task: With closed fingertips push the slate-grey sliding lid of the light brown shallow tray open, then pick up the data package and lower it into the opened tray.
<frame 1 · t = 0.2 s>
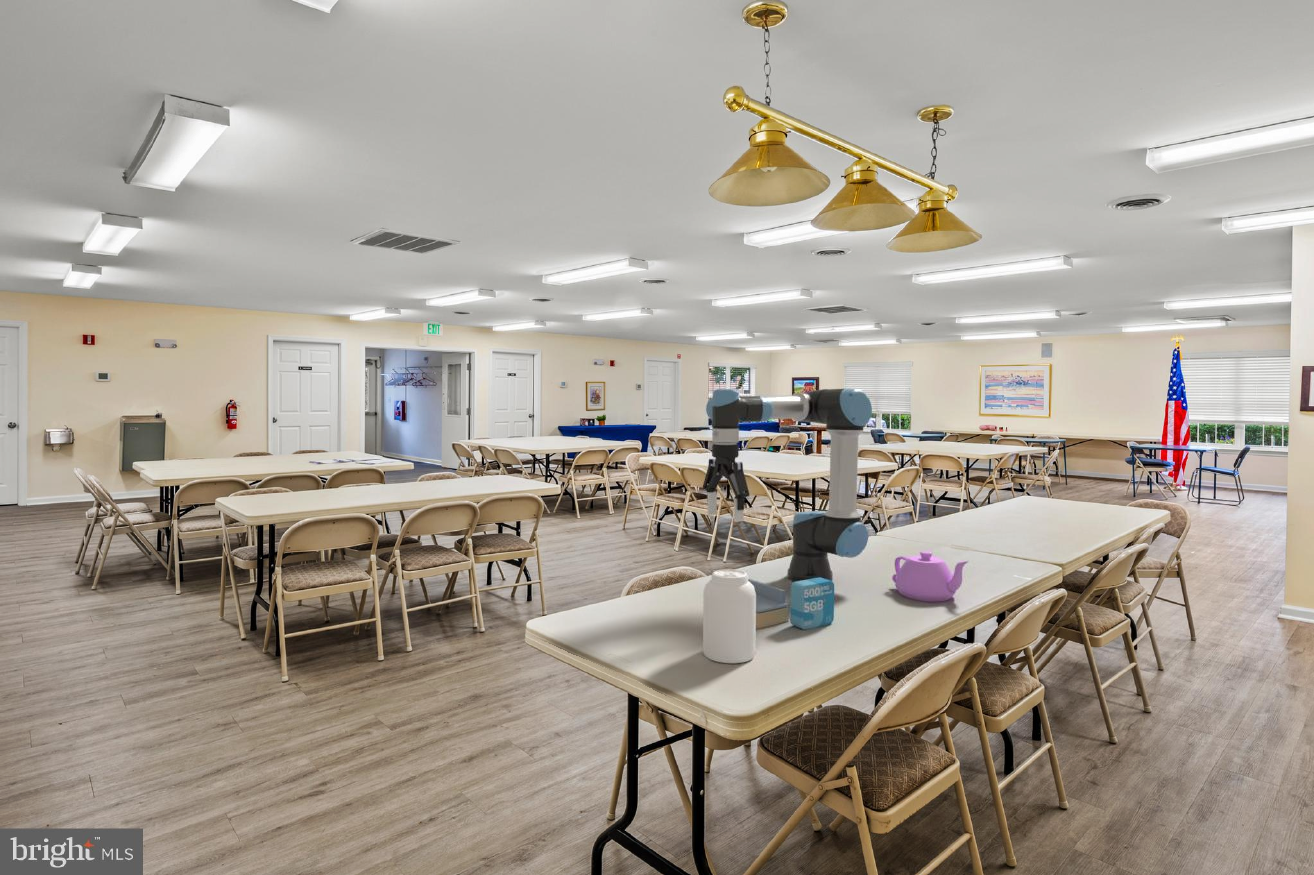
hand: (724, 517, 194), 27 cm above the table, fingers open, 13 cm apart
light brown shallow tray: (752, 616, 192), on the table
lid: (752, 594, 191), point 6 cm above the table, slide at 0.0 cm
teapot: (928, 596, 213), on the table
white bottle: (729, 655, 163), on the table
data package: (812, 625, 185), on the table
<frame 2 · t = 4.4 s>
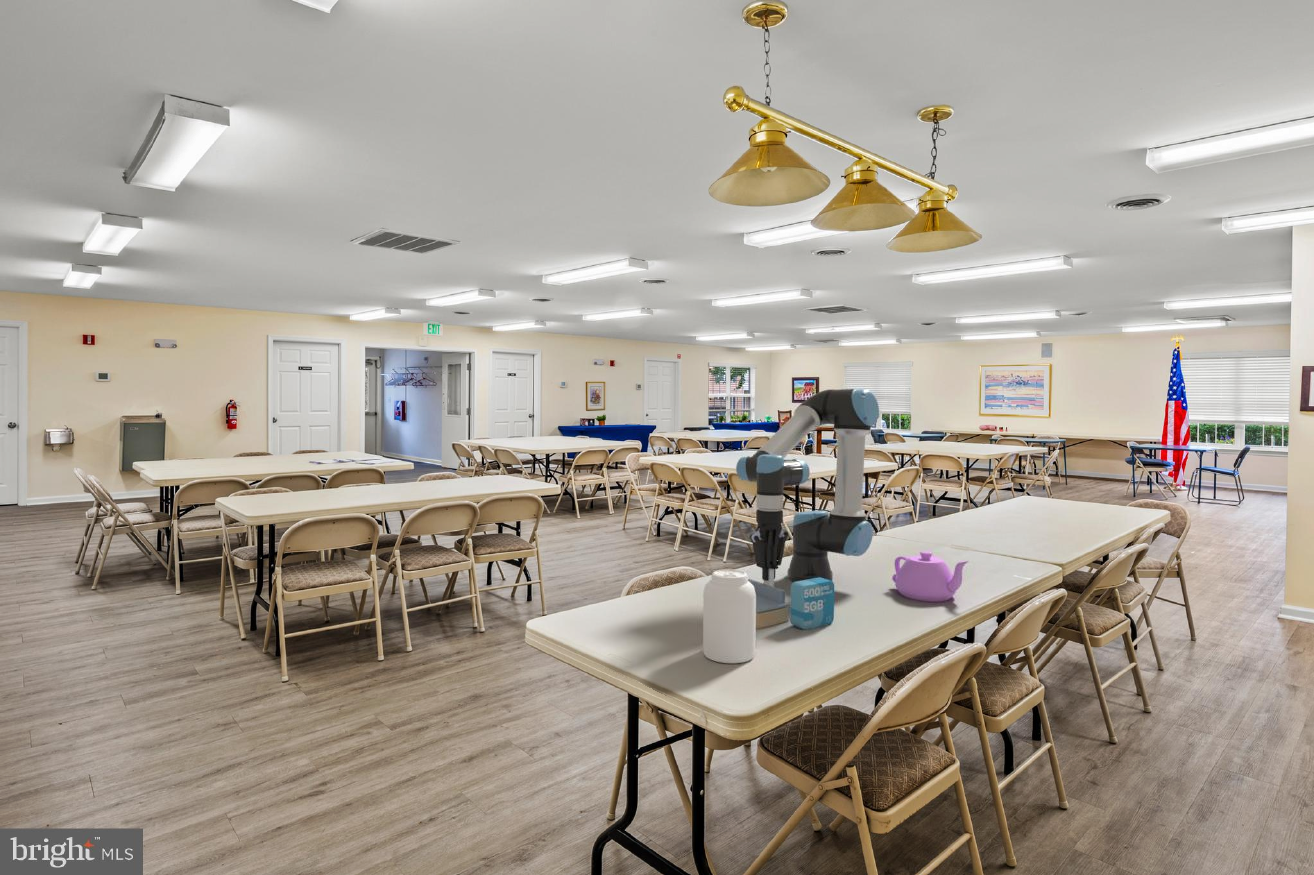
hand: (768, 590, 194), 6 cm above the table, fingers closed
lid: (752, 594, 191), point 6 cm above the table, slide at 0.2 cm, touching gripper
everything else where it was.
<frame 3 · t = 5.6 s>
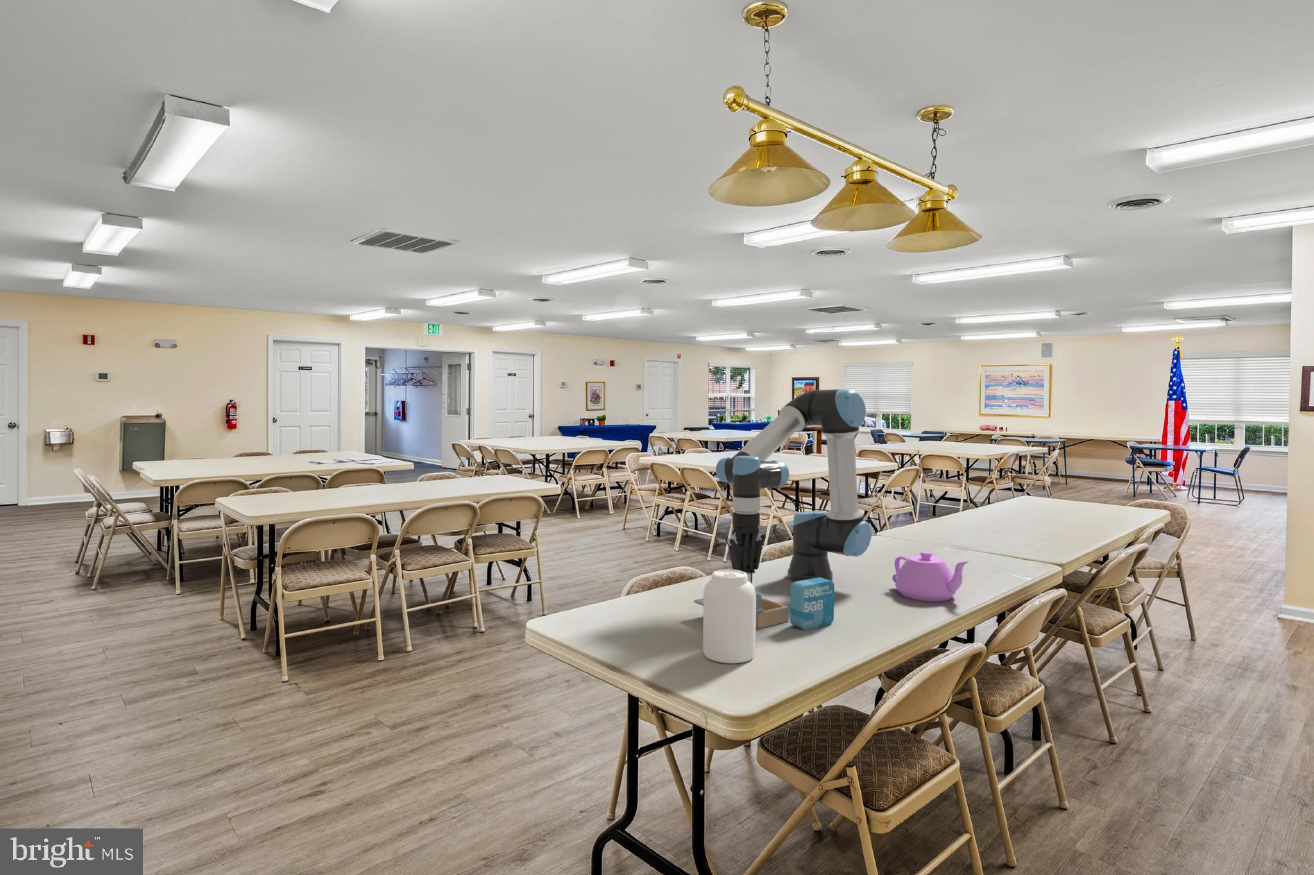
hand: (745, 595, 190), 6 cm above the table, fingers closed
lid: (728, 599, 186), point 6 cm above the table, slide at 8.9 cm, touching gripper
everything else where it was.
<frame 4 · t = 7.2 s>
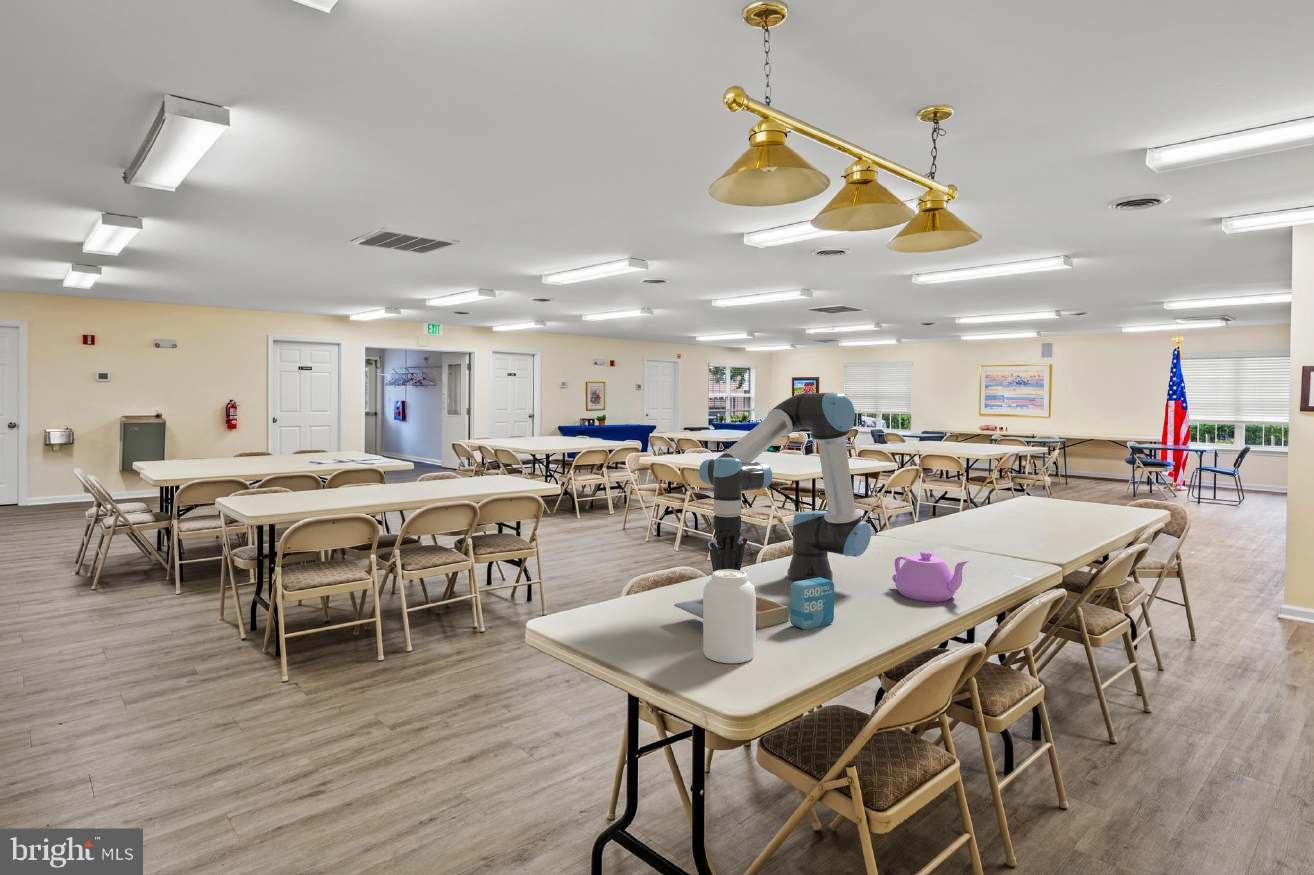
hand: (726, 600, 186), 6 cm above the table, fingers closed
lid: (709, 603, 183), point 6 cm above the table, slide at 15.5 cm, touching gripper
everything else where it was.
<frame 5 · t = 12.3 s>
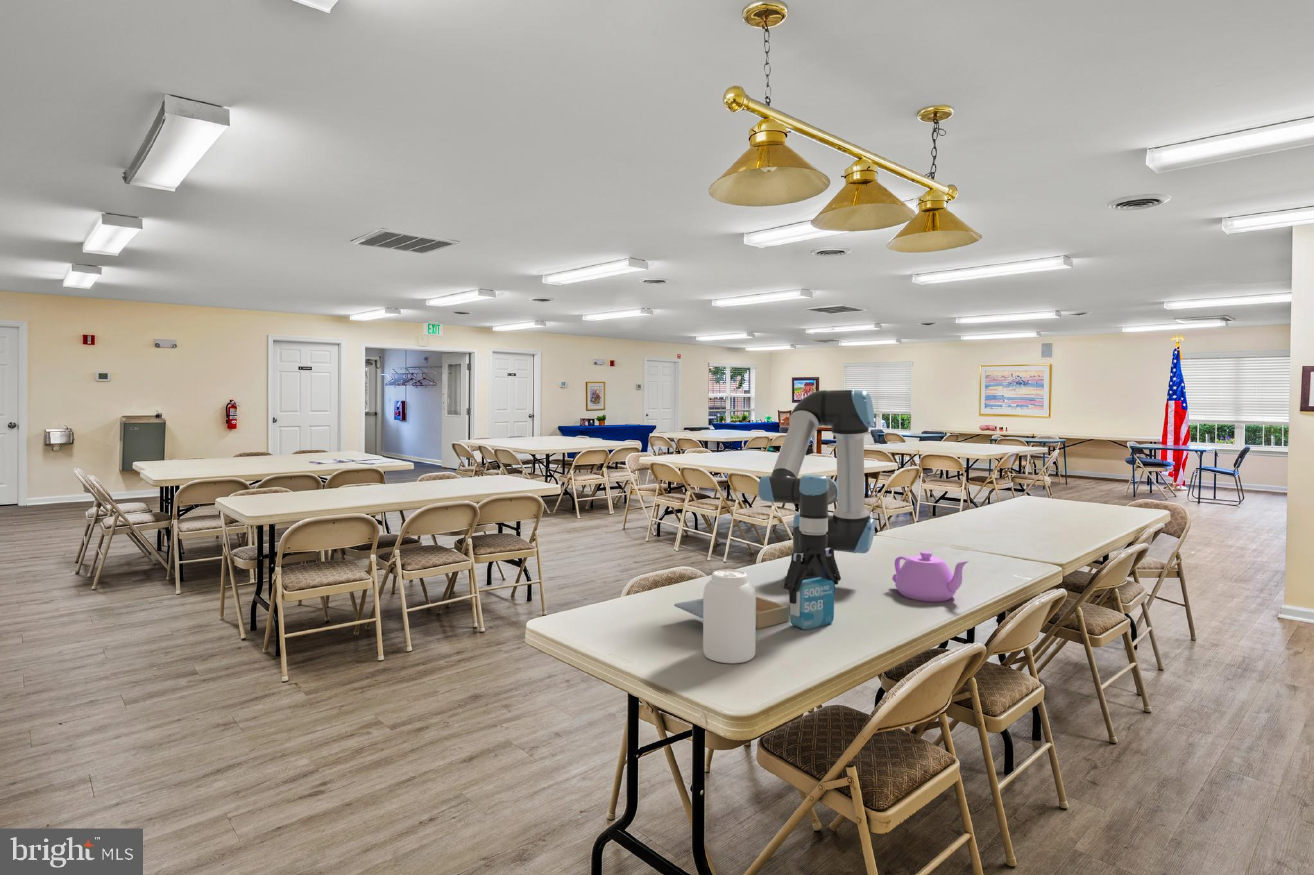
hand: (812, 611, 185), 4 cm above the table, fingers closed on data package, 12 cm apart
lid: (709, 603, 183), point 6 cm above the table, slide at 15.5 cm
data package: (812, 625, 185), on the table, touching gripper
everything else where it was.
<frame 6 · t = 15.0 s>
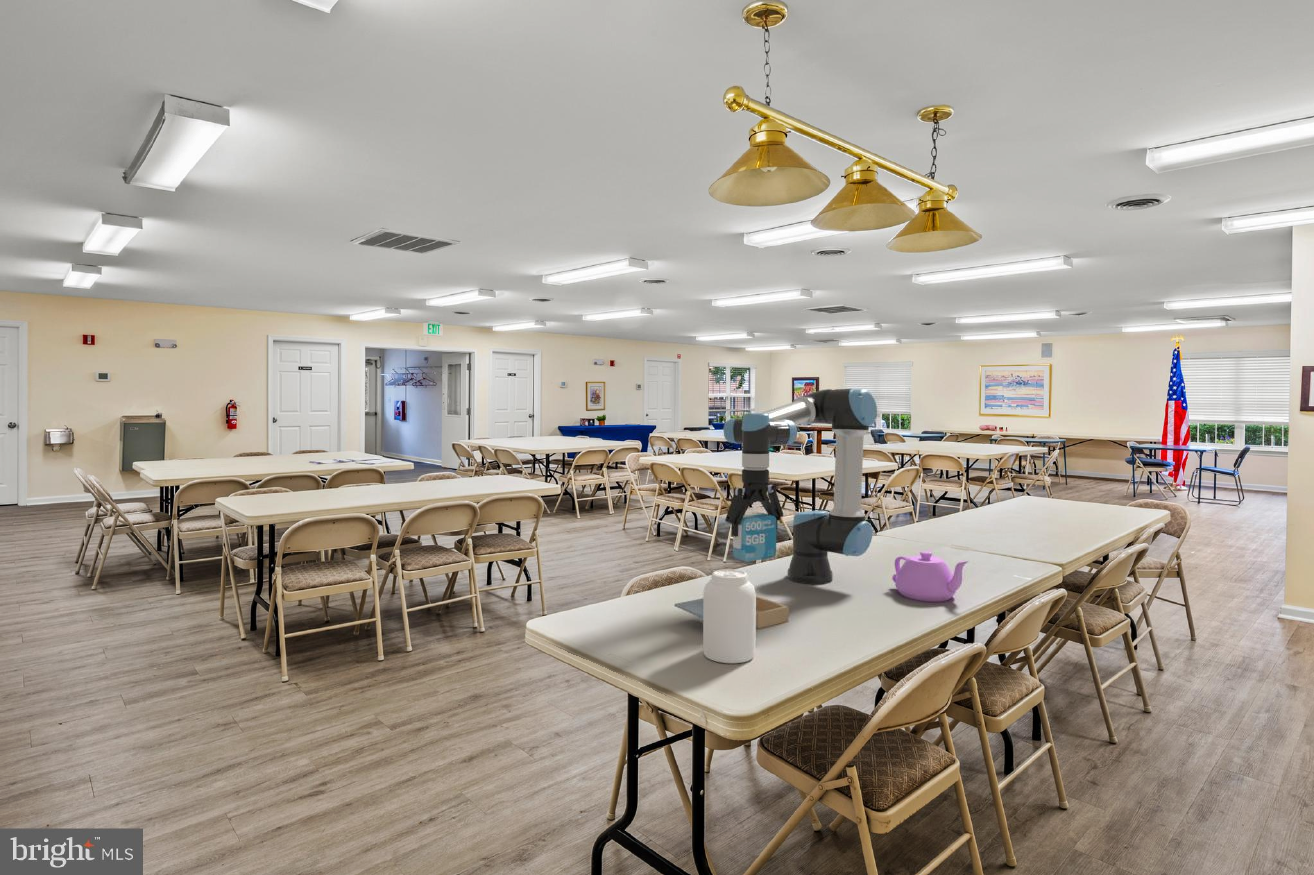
hand: (754, 545, 190), 20 cm above the table, fingers closed on data package, 12 cm apart
data package: (754, 559, 191), point 16 cm above the table, touching gripper
everything else where it was.
when the fingers open (7 cm above the table, at t = 18.2 s): data package stays where it is, resting on light brown shallow tray.
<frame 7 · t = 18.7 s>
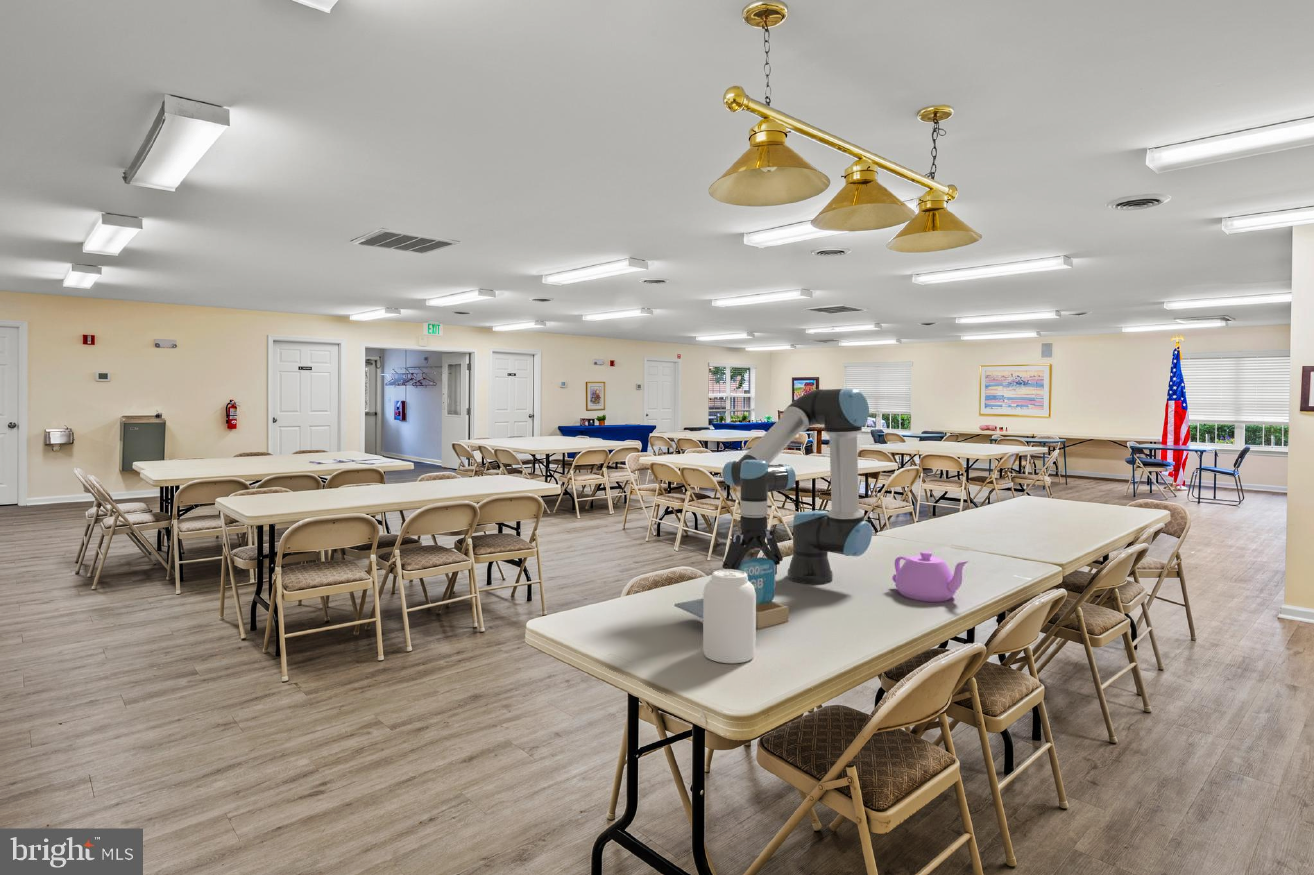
hand: (753, 590, 191), 8 cm above the table, fingers open, 13 cm apart
data package: (752, 603, 191), point 4 cm above the table, touching light brown shallow tray
everything else where it was.
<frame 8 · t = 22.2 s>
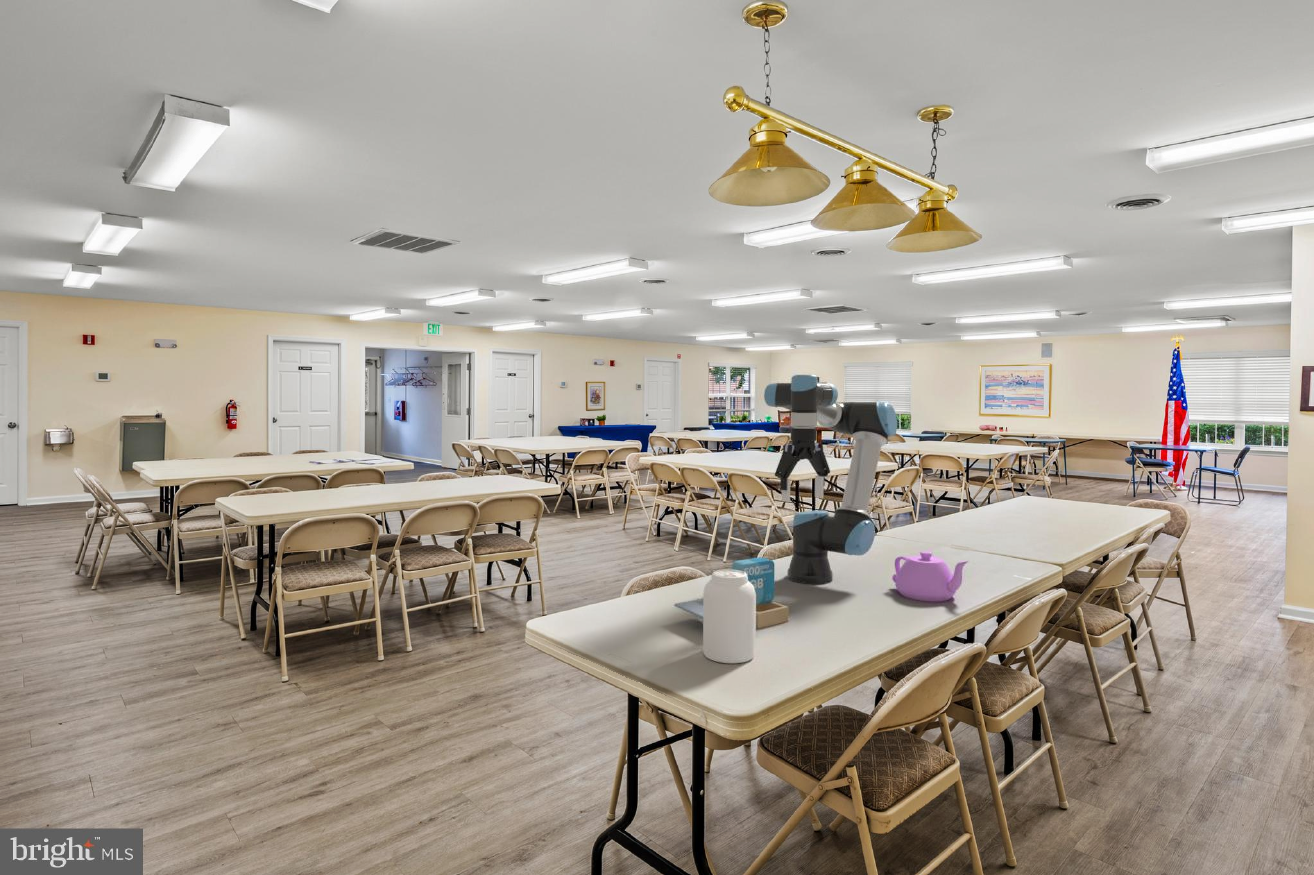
hand: (802, 499, 200), 32 cm above the table, fingers open, 13 cm apart
nothing on the table moved.
at the end: lid slide at 15.5 cm; data package inside the target area (0.1 cm from its centre), point 3.8 cm above the table; the gripper is holding nothing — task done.
